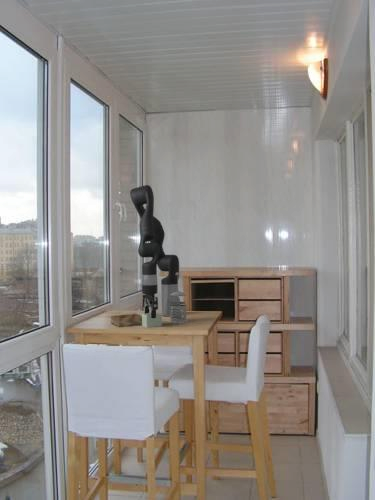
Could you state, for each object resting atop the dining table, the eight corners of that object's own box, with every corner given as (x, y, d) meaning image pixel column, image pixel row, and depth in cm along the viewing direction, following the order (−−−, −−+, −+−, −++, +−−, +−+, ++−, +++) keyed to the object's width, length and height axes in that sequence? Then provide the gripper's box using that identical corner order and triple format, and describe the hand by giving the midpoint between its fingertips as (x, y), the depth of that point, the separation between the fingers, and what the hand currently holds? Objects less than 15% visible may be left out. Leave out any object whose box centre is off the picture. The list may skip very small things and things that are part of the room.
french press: (186, 323, 272) (185, 273, 272) (163, 323, 274) (162, 273, 274) (190, 320, 282) (188, 271, 281) (168, 319, 284) (166, 271, 283)
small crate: (157, 324, 271) (156, 312, 271) (162, 326, 266) (161, 313, 265) (142, 326, 267) (141, 313, 267) (146, 327, 262) (146, 315, 262)
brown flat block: (135, 321, 282) (135, 313, 282) (145, 324, 271) (144, 316, 271) (111, 323, 276) (110, 315, 276) (119, 327, 265) (119, 318, 265)
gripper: (162, 284, 261) (163, 318, 261) (151, 282, 274) (151, 314, 274) (147, 285, 258) (148, 319, 258) (137, 283, 271) (137, 316, 271)
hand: (150, 317), depth 266 cm, fingers open, 8 cm apart
